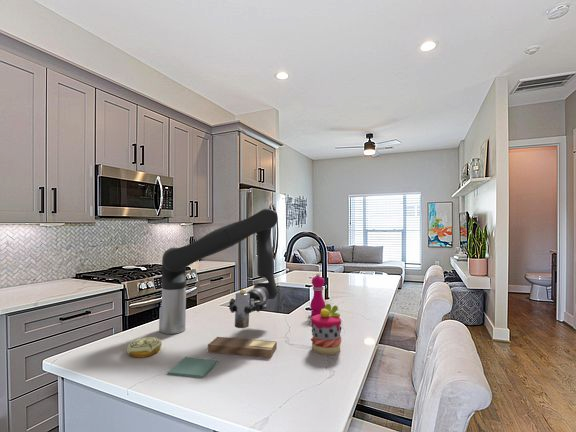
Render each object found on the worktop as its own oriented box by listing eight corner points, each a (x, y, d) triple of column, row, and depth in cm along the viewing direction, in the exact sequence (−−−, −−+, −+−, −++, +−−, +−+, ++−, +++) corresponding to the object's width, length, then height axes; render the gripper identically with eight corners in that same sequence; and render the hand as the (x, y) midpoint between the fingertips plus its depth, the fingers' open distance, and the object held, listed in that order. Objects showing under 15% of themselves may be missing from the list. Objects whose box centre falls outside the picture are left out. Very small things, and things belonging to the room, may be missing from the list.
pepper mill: (324, 317, 153) (324, 274, 154) (309, 316, 155) (309, 274, 155) (326, 313, 160) (326, 272, 161) (311, 312, 162) (311, 271, 162)
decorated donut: (121, 359, 106) (121, 347, 106) (134, 346, 116) (134, 335, 116) (155, 358, 106) (155, 346, 106) (165, 346, 117) (165, 335, 117)
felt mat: (167, 374, 95) (167, 372, 95) (186, 358, 106) (186, 356, 106) (202, 377, 93) (203, 375, 93) (218, 361, 104) (218, 359, 104)
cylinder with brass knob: (232, 327, 111) (233, 289, 112) (237, 323, 116) (238, 287, 116) (246, 328, 110) (247, 290, 111) (250, 324, 115) (251, 288, 115)
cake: (339, 357, 108) (339, 311, 109) (307, 353, 111) (308, 308, 112) (343, 345, 118) (343, 303, 119) (314, 342, 121) (314, 301, 122)
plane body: (207, 352, 111) (207, 344, 111) (217, 343, 119) (217, 336, 119) (271, 357, 107) (271, 349, 107) (276, 348, 115) (276, 340, 115)
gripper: (236, 288, 129) (219, 297, 112) (272, 290, 126) (260, 300, 109) (236, 307, 129) (219, 319, 112) (272, 310, 126) (259, 323, 109)
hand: (239, 310), depth 111 cm, fingers closed on cylinder with brass knob, 4 cm apart
